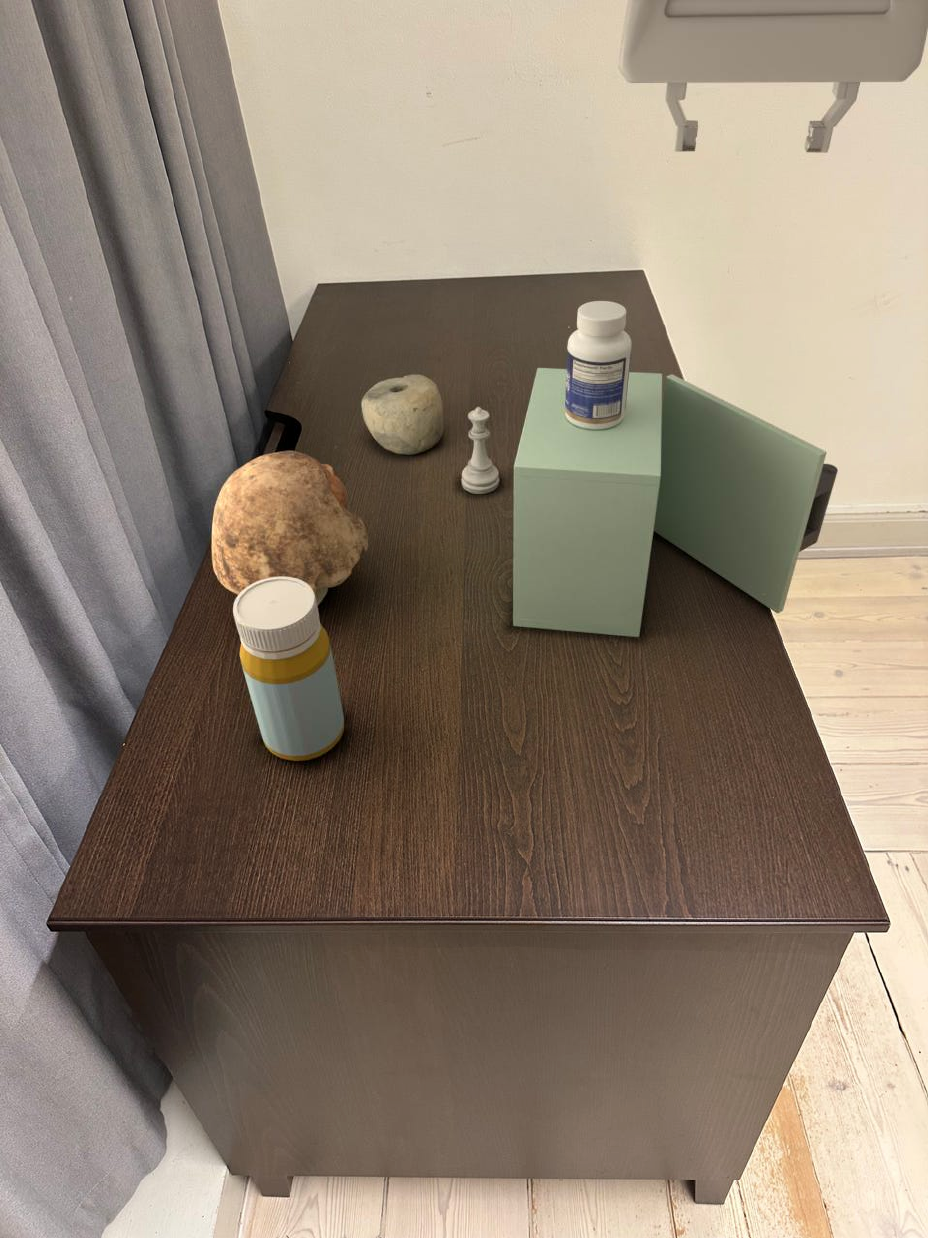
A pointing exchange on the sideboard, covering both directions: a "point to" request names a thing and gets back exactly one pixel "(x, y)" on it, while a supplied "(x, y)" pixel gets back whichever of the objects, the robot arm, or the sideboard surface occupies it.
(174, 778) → the sideboard surface
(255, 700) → the bottle
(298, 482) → the tan rounded lump
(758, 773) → the sideboard surface
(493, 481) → the chess piece
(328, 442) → the sideboard surface
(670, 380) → the fridge door
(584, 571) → the mini fridge
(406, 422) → the stone
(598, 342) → the pill bottle
